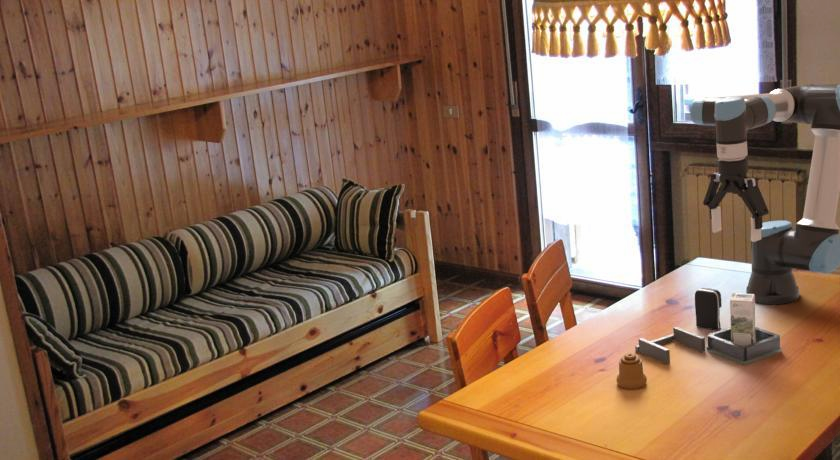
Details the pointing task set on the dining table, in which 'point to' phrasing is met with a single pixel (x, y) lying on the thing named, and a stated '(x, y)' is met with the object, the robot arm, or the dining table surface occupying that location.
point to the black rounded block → (708, 308)
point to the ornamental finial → (631, 372)
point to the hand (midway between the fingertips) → (736, 236)
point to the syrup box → (742, 319)
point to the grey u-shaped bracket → (679, 336)
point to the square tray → (745, 355)
